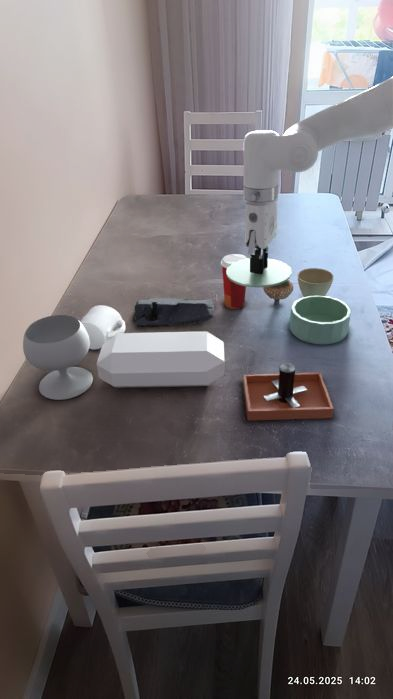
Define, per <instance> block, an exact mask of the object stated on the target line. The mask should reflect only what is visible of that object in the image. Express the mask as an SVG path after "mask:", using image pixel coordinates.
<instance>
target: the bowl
mask: <svg viewBox="0 0 393 699" xmlns="http://www.w3.org/2000/svg"><path fill="white" fill-rule="evenodd" d="M290 308H291V309H290V317H289V318H290V320H289V327H290V328H289V330H290V331H291V333H292V335H293V336H295V337H296V338H297V339H299V340H301V341H302V342H305V343H309V344H313V345H331V344H336V343H339V342H341V341H342V340H344V339H345V338H346V337H347V336H348V331H349V328H350V322H351V317H352V316H351V315H352V310H351V307H350V306H349V304H347V303H346V302H345V301H343V300H341V299H338V298H335V297H332V296H326V295H325V296H320V295H319V296H307V297H304V296H302V297H300V298H298V299H296V300H295V301H293V303H292V305H291V307H290Z"/></svg>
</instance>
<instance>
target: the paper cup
mask: <svg viewBox="0 0 393 699" xmlns="http://www.w3.org/2000/svg"><path fill="white" fill-rule="evenodd" d="M243 259H248V257H247V256H245V255H244V254H240V253H231V254H227V255H225V256H223V258H221V261H220V266H221V269H222V284H223V297H224V305H225V307H226V308H228V309H232V310H236V309H241V308H243V307H244V306H245V300H246V293H247V292H246V290H247V286H242V285H239V284H236V283H234V282H232V281H231V280H229V278H228V277H227V275H226V270H227V268H228V267H229V266H230V265H231V264H232V263H234V262H237V261H239V260H243Z"/></svg>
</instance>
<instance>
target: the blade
mask: <svg viewBox="0 0 393 699" xmlns="http://www.w3.org/2000/svg"><path fill="white" fill-rule="evenodd" d="M278 370H279V371H278V374H279V380H274V381H272V384H273V385H274V386H275V387H276V389H277V390H278V393H275V394H271V395H267V396H264V397H263V398H264V399H265V401H266V402H270V401H274V400H277V399H278V400H279V401H280V402H283V403H289V405H290V406H291V407H292V408H299V407H300V405H299V404H298V403H297V401H296V400H295V399H294V398H293V395H295V394H298V393H302V392H306V391H307V389H306V388H305V387H304V386H300V387H296V388H294V379H295V373H296V366H295V365H294V364H292V363H283V364H280V366H279V369H278Z"/></svg>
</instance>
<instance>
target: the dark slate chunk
mask: <svg viewBox="0 0 393 699" xmlns="http://www.w3.org/2000/svg"><path fill="white" fill-rule="evenodd" d="M214 312H215V304H214V301H212V299H201V300H199V299H198V300H194V299H193V300H192V299H183V298H173V297H172V298H171V297H170V298H169V297H148V298H147V299H141V300H137V301H136V302H135V305H134V318H135V326H137V327H142V328H143V327H147V326H151V327H161V326H162V327H168V326H170V325H185V324H199V323H200V322H205V321H209V320H211V319H212V318H213V314H214ZM153 316H156V320H153V321H152V317H153Z"/></svg>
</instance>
